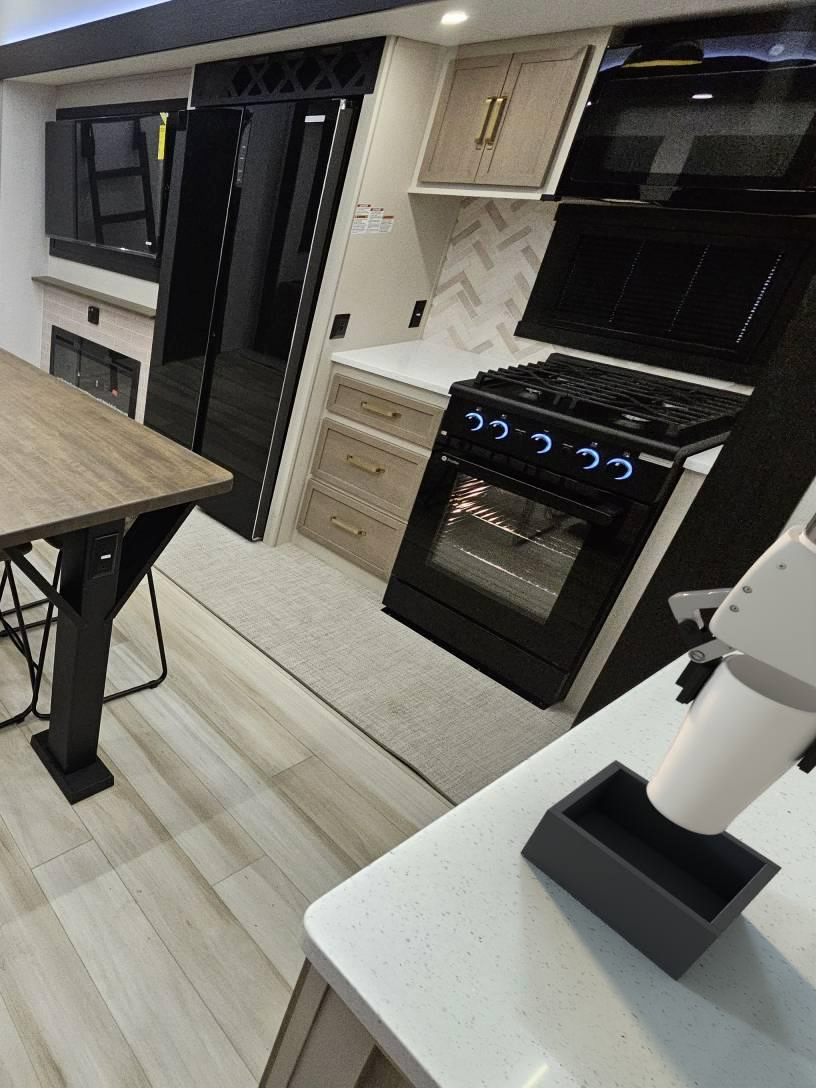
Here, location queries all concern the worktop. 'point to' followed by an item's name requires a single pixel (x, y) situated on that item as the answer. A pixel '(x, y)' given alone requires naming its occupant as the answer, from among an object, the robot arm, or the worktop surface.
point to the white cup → (733, 744)
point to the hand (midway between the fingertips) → (745, 727)
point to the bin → (646, 868)
